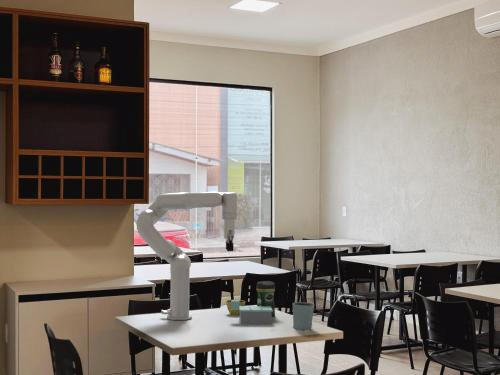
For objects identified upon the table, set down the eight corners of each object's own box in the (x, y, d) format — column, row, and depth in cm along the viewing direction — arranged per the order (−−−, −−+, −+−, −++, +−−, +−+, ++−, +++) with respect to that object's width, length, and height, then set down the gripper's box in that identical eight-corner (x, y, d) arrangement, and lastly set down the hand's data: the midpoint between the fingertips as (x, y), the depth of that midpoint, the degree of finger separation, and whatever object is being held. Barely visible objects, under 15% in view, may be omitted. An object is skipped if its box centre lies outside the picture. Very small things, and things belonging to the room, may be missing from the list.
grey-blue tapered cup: (288, 327, 332) (289, 302, 333) (307, 326, 336) (307, 301, 337) (298, 331, 323) (298, 305, 323) (317, 330, 327) (317, 304, 327)
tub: (240, 324, 338) (240, 311, 338) (239, 321, 348) (239, 308, 348) (271, 324, 339) (271, 311, 339) (269, 321, 349) (269, 308, 349)
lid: (231, 313, 337) (231, 302, 337) (230, 309, 348) (230, 298, 348) (272, 313, 338) (272, 302, 338) (270, 309, 349) (270, 299, 349)
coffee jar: (269, 315, 366) (269, 279, 366) (277, 317, 359) (277, 281, 359) (253, 316, 361) (253, 280, 361) (261, 319, 354) (261, 282, 354)
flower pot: (249, 315, 365) (249, 301, 365) (234, 317, 358) (234, 303, 359) (237, 312, 373) (237, 299, 373) (222, 314, 366) (222, 300, 366)
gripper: (221, 216, 362) (221, 249, 361) (223, 217, 344) (223, 251, 344) (235, 216, 362) (235, 249, 362) (238, 217, 345) (238, 251, 345)
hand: (229, 250), depth 353 cm, fingers open, 9 cm apart
